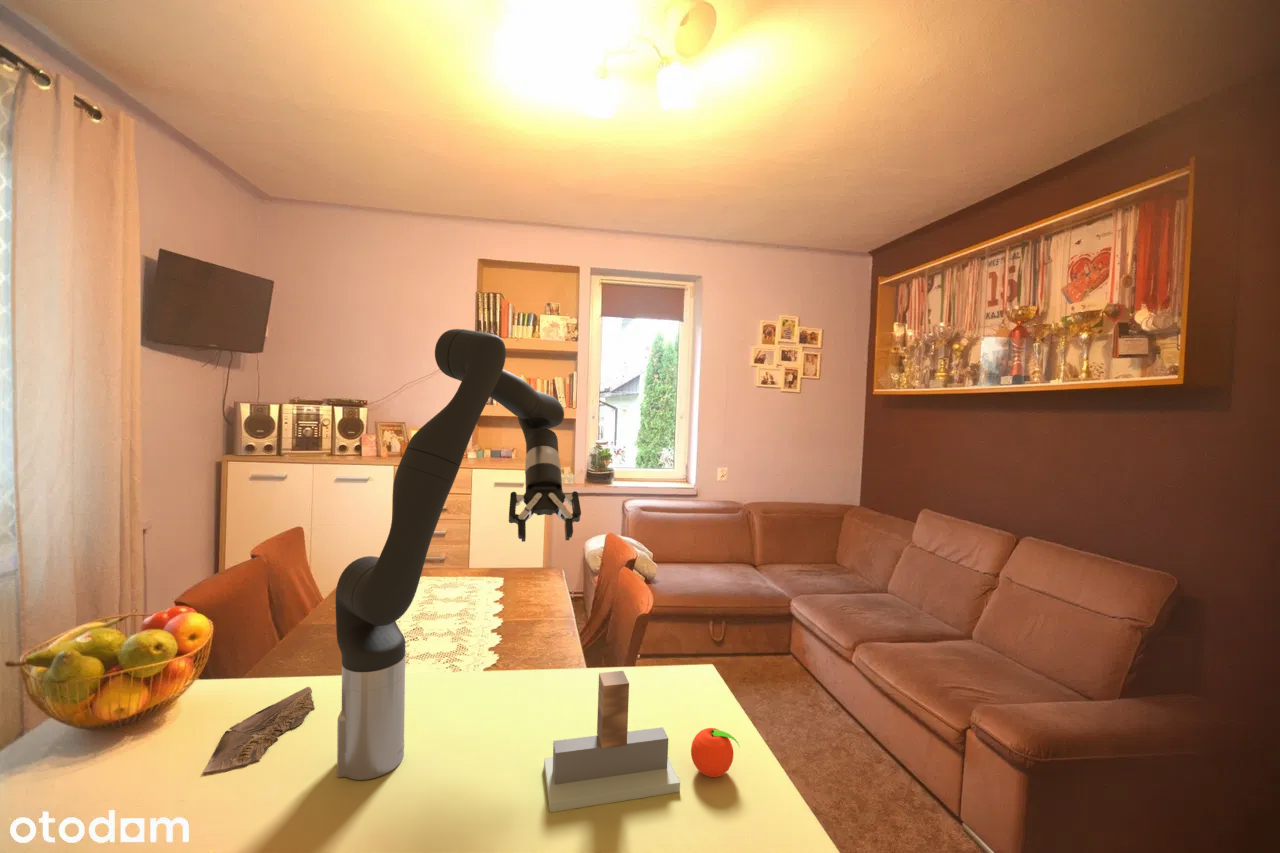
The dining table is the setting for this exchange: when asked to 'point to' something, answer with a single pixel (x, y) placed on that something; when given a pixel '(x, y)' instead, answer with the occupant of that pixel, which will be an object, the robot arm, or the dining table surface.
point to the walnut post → (612, 709)
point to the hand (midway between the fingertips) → (546, 539)
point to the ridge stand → (609, 770)
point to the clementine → (712, 752)
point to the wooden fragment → (259, 732)
